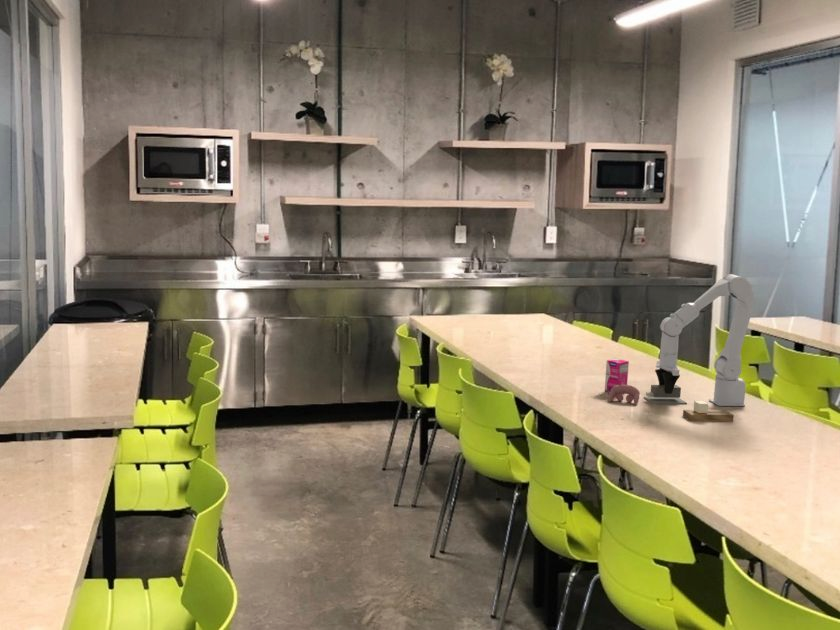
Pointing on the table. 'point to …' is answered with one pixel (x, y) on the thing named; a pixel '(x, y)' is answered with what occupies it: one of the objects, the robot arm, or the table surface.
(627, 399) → the mauve arch
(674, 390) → the bar
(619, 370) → the supplement box
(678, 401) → the mat
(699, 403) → the switch tab
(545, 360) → the table surface
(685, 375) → the table surface
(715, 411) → the switch block
